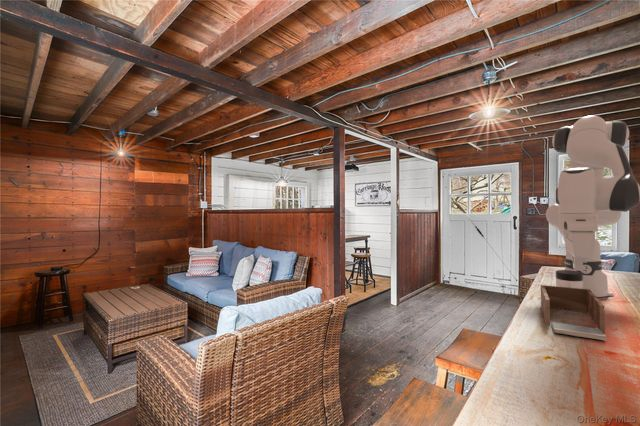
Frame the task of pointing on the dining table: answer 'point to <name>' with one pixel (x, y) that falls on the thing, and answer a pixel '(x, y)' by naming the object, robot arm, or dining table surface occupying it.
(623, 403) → the dining table surface
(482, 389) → the dining table surface
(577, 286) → the jar
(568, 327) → the panel
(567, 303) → the crate
